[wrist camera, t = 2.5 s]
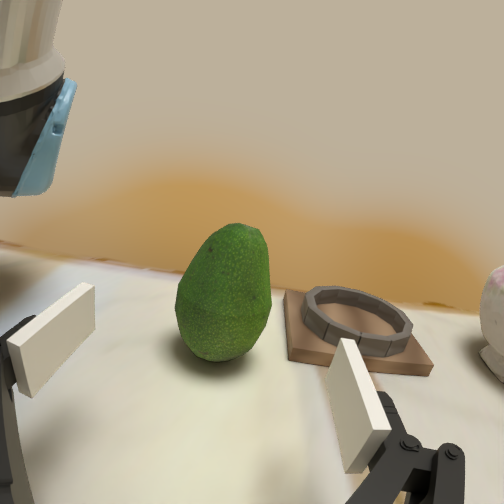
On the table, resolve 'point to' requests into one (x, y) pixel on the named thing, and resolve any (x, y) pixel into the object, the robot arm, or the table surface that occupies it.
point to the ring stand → (352, 330)
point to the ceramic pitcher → (493, 322)
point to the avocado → (225, 294)
